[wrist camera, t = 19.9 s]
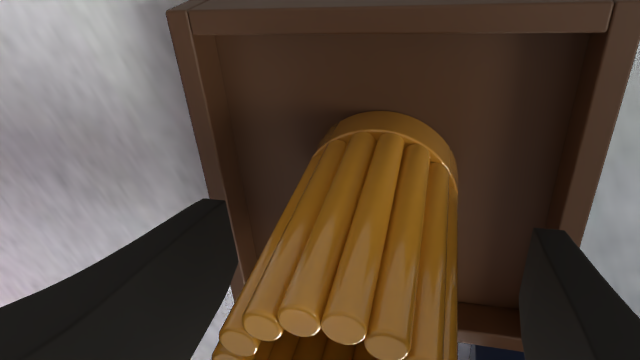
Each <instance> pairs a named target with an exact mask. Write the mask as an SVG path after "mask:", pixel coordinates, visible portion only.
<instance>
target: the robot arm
mask: <svg viewBox="0 0 640 360" xmlns="http://www.w3.org/2000/svg"><path fill="white" fill-rule="evenodd" d="M238 262H239V261H238V256H237V252H236V247H235V242H234V238H233V233H232V229H231V224H230V219H229V215H228V210H227V206H226V201H225V200H215V199H202V200H200V201H198V202H196V203H194V204H193V205H191V206H189V207H188V208H186V209H184V210H183V211H181V212H179V213H178V214H176V215H175V216H173V217H171V218H170V219H168V220H167V221H165V222H164V223H162V224H160V225H159V226H157V227H156V228H154V229H152V230H151V231H149V232H148V233H146V234H144V235H143V236H141V237H140V238H138V239H136V240H135V241H133V242H132V243H130V244H128V245H126V246H125V247H123V248H121V249H119V250H118V251H116V252H114V253H113V254H111V255H109V256H107V257H106V258H104V259H102V260H100V261H99V262H97V263H95V264H93V265H92V266H90V267H88V268H86V269H84V270H82V271H80V272H78V273H76V274H74V275H73V276H71V277H68V278H66V279H64V280H62V281H60V282H58V283H56V284H54V285H52V286H50V287H48V288H46V289H43V290H41V291H39V292H37V293H34V294H32V295H30V296H27V297H25V298H22V299H20V300H18V301H15V302H13V303H10V304H8V305H5V306H3V307H1V308H0V360H190V359H191V357H192V355H193V354H194V352H195V350H196V348H197V346H198V345H199V343H200V341H201V339H202V338H203V336H204V334H205V332H206V330H207V329H208V327H209V325H210V323H211V322H212V320H213V318H214V316H215V314H216V313H217V311H218V309H219V307H220V305H221V303H222V302H223V300H224V298H225V296H226V293H227V291H228V289H229V286H230V284H231V281H232V279H233V276H234V273H235V270H236V268H237V265H238ZM519 312H520V326H521V339H522V344H523V350H524V355H525V360H640V318H639V317H638V316H637V315H636V314H635V313H634V312H633V311H632V310H631V309H630V307H629V306H628V305H627V304H626V303H625V302H624V301H623V300H622V298H621V297H620V296H619V295H618V294H617V293H616V292H615V291H614V289H613V288H612V287H611V286H610V285H609V284H608V282H607V281H606V280H605V279H604V278H603V277H602V275H601V274H600V273H599V272H598V271H597V269H596V268H595V267H594V266H593V264H592V263H591V262H590V261H589V260H588V258H587V257H586V256H585V255H584V253H583V252H582V251H581V250H580V248H579V247H578V246H577V245H576V243H575V242H574V241H573V240H572V238H571V237H570V236H569V235H568V234H567V233H566V231H565V230H556V229H544V228H533V231H532V236H531V241H530V245H529V250H528V255H527V259H526V264H525V269H524V273H523V278H522V282H521V287H520V292H519Z"/></svg>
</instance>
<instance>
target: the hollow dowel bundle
mask: <svg viewBox="0 0 640 360" xmlns="http://www.w3.org/2000/svg"><path fill="white" fill-rule="evenodd" d="M458 202H459V178H458V168H457V163H456V160H455V158H454V155H453V153H452V151H451V149H450V148H449V146H448V145H447V143H446V142H445V141H444V139H443V138H442V137H441V136H440V135H439V134H438V133H437V132H436V131H435V130H433V129H432V128H431V127H429V126H428V125H426V124H425V123H423V122H421V121H420V120H418V119H415V118H413V117H411V116H408V115H404V114H401V113H397V112H390V111H370V112H364V113H359V114H356V115H353V116H350V117H348V118H346V119H344V120H342V121H340V122H338V123H337V124H336V125H334V126H333V127H332V128H331V129H330V130H328V131H327V132H326V134H325V135H324V136H323V137H322V139H321V140H320V142H319V144H318V146H317V147H316V149H315V151H314V153H313V155H312V157H311V159H310V161H309V163H308V164H307V167H306V169H305V171H304V173H303V174H302V176H301V178H300V180H299V182H298V184H297V186H296V188H295V190H294V192H293V193H292V195H291V197H290V199H289V201H288V203H287V205H286V207H285V209H284V211H283V212H282V214H281V216H280V218H279V220H278V222H277V224H276V226H275V228H274V229H273V231H272V233H271V235H270V237H269V239H268V241H267V243H266V245H265V247H264V248H263V250H262V252H261V254H260V256H259V258H258V260H257V262H256V264H255V265H254V267H253V269H252V271H251V273H250V275H249V277H248V279H247V281H246V283H245V284H244V286H243V288H242V290H241V292H240V294H239V296H238V298H237V300H236V301H235V303H234V305H233V307H232V309H231V311H230V313H229V315H228V317H227V319H226V320H225V322H224V324H223V326H222V328H221V330H220V332H219V342H218V344H217V346H216V348H215V350H214V352H213V353H212V360H458Z"/></svg>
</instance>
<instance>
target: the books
mask: <svg viewBox="0 0 640 360" xmlns="http://www.w3.org/2000/svg"><path fill="white" fill-rule="evenodd" d="M469 360H525V355H524V352H520V351H514V350H507V349H500V348H494V347H487V346H480V345H473V344H472V345H471V352H470V358H469Z"/></svg>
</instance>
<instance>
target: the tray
mask: <svg viewBox="0 0 640 360" xmlns="http://www.w3.org/2000/svg"><path fill="white" fill-rule="evenodd" d="M166 17H167V21H168V25H169V30H170V34H171V38H172V42H173V46H174V51H175V55H176V59H177V63H178V67H179V72H180V76H181V80H182V84H183V88H184V93H185V97H186V101H187V105H188V109H189V114H190V118H191V122H192V126H193V130H194V135H195V139H196V143H197V147H198V151H199V156H200V160H201V164H202V168H203V172H204V177H205V181H206V185H207V189H208V193H209V198H210V199H215V200H225V201H226V206H227V210H228V215H229V219H230V224H231V229H232V233H233V238H234V242H235V247H236V252H237V256H238V261H239V262H238V265H237V268H236V270H235V273H234V276H233V279H232V281H231V284H230V286H231V290H232V294H233V298H234V303H235V301H236V300H237V298H238V296H239V294H240V292H241V290H242V288H243V286H244V284H245V283H246V281H247V279H248V277H249V275H250V273H251V271H252V269H253V267H254V265H255V264H256V262H257V260H258V258H259V256H260V254H261V252H262V250H263V248H264V247H265V245H266V243H267V241H268V239H269V237H270V235H271V233H272V231H273V229H274V228H275V226H276V224H277V222H278V220H279V218H280V216H281V214H282V212H283V211H284V209H285V207H286V205H287V203H288V201H289V199H290V197H291V195H292V193H293V192H294V190H295V188H296V186H297V184H298V182H299V180H300V178H301V176H302V174H303V173H304V171H305V169H306V167H307V164H308V163H309V161H310V159H311V157H312V155H313V153H314V151H315V149H316V147H317V146H318V144H319V142H320V140H321V139H322V137H323V136H324V135H325V134H326V132H327V131H328V130H330V129H331V128H332V127H333V126H334V125H336V124H337V123H338V122H340V121H342V120H344V119H346V118H348V117H350V116H353V115H356V114H359V113H364V112H370V111H390V112H397V113H401V114H404V115H408V116H411V117H413V118H415V119H418V120H420V121H421V122H423V123H425V124H426V125H428V126H429V127H431V128H432V129H433V130H435V131H436V132H437V133H438V134H439V135H440V136H441V137H442V138H443V139H444V141H445V142H446V143H447V145H448V146H449V148H450V149H451V151H452V153H453V155H454V158H455V160H456V163H457V168H458V178H459V202H458V342H460V343H467V344H473V345H480V346H487V347H494V348H500V349H507V350H514V351H520V352H524V350H523V344H522V339H521V326H520V312H519V292H520V287H521V282H522V278H523V273H524V269H525V264H526V259H527V255H528V250H529V245H530V241H531V236H532V231H533V228H544V229H556V230H565V231H566V233H567V234H568V235H569V236H570V237H571V238H572V240H573V241H574V242H575V243H576V245H577V246H578V247H579V248H580V244H581V241H582V237H583V234H584V230H585V227H586V223H587V220H588V217H589V213H590V210H591V206H592V203H593V199H594V196H595V193H596V189H597V186H598V182H599V179H600V175H601V172H602V168H603V165H604V162H605V158H606V155H607V151H608V148H609V144H610V141H611V137H612V134H613V131H614V127H615V124H616V120H617V117H618V113H619V110H620V106H621V103H622V100H623V96H624V93H625V89H626V86H627V82H628V79H629V76H630V72H631V69H632V65H633V62H634V58H635V55H636V51H637V48H638V45H639V41H640V0H189V1H187V2H184V3H182V4H180V5H178V6H176V7H173V8H171V9H169V10H167V11H166Z"/></svg>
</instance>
